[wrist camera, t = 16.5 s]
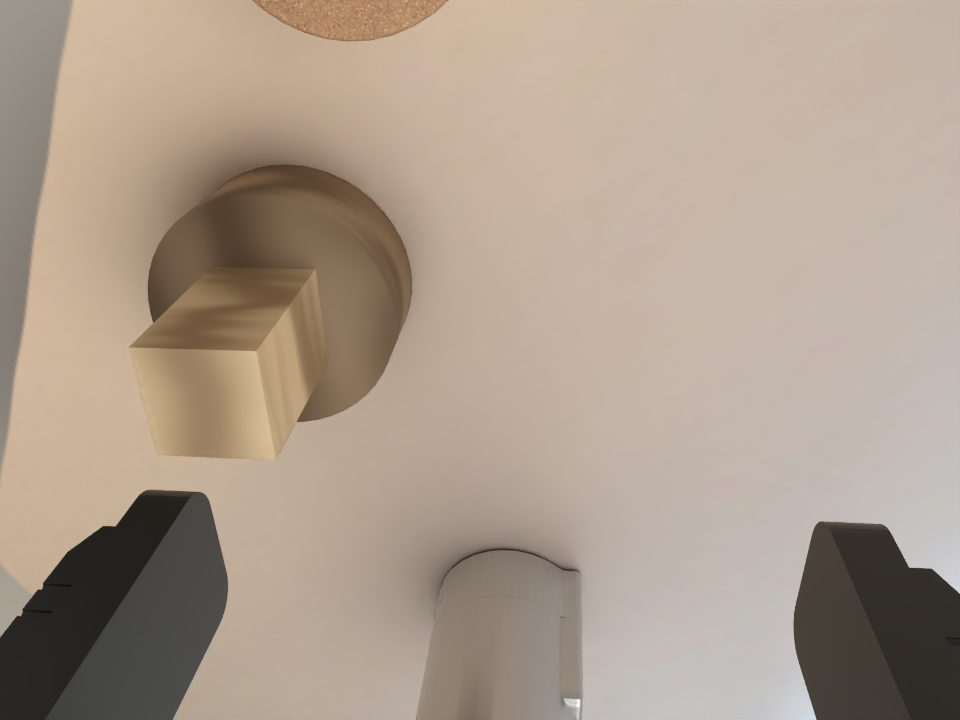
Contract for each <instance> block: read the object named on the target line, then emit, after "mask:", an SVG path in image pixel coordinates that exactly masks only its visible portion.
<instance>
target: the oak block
mask: <svg viewBox="0 0 960 720" xmlns="http://www.w3.org/2000/svg"><path fill="white" fill-rule="evenodd" d="M129 350H130V354H131V358H132V362H133V365H134V369H135V373H136V377H137V380H138V384H139V388H140V392H141V395H142V399H143V403H144V407H145V411H146V414H147V418H148V422H149V426H150V429H151V433H152V437H153V441H154V444H155V448H156V452H157V455H170V456H193V457H216V458H239V459H262V460H276V459H277V457H278V455H279V453H280V451H281V449H282V447H283V446H284V444H285V442H286V440H287V438H288V436H289V435H290V433H291V431H292V429H293V427H294V425H295V423H296V422H297V420H298V418H299V416H300V414H301V412H302V410H303V409H304V407H305V405H306V403H307V401H308V399H309V397H310V396H311V394H312V392H313V390H314V388H315V386H316V384H317V383H318V381H319V379H320V377H321V375H322V373H323V371H324V370H325V368H326V366H327V364H328V361H327V353H326V345H325V337H324V330H323V322H322V314H321V306H320V299H319V291H318V283H317V276H316V269H296V268H245V267H211V268H209V269H208V270H207V271H206V272H205V273H204V274H203V275H202V276H201V277H200V278H199V279H198V280H197V281H196V282H195V283H194V284H193V285H192V286H191V287H190V288H189V289H188V290H187V291H186V292H185V293H184V294H183V295H182V296H181V297H180V298H179V299H178V300H177V301H176V302H175V303H174V304H173V305H172V306H171V307H170V308H169V309H168V310H167V311H165V312H164V313H163V314H162V315H161V316H160V317H159V318H158V319H157V320H156V321H155V322H154V323H153V324H152V325H151V326H150V327H149V328H148V329H147V330H146V331H145V332H144V333H143V334H142V335H141V336H140V337H139V338H138V339H137V340H136V341H135V342H134V343H133V344H132V345H131V346H130V347H129Z"/></svg>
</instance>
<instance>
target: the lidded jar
mask: <svg viewBox="0 0 960 720" xmlns="http://www.w3.org/2000/svg"><path fill="white" fill-rule="evenodd" d="M253 1H254V2H255V3H256V4H257V5H258V6H260V7H261V8H262V9H263V10H265V11H266V12H268V13H269V14H271V15H272V16H274V17H275V18H277V19H278V20H280V21H281V22H283V23H285V24H287V25H289V26H291V27H294V28H296V29H298V30H300V31H302V32H304V33H308V34H311V35H315V36H318V37H322V38H325V39H332V40H341V41H365V40H374V39H378V38H383V37H387V36H391V35H394V34H397V33H399V32H401V31H404V30H406V29H408V28H411V27H413V26H415V25H417V24H418V23H420V22H421V21H423V20H424V19H426V18H427V17H429V16H430V15H432V14H433V13H435V12H436V11H437V10H438V9H439V8H440V7H441V6H442V5H444V4H445V3H446V2H447V1H448V0H253Z"/></svg>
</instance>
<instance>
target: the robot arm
mask: <svg viewBox="0 0 960 720" xmlns="http://www.w3.org/2000/svg"><path fill="white" fill-rule="evenodd" d="M227 594H228V579H227V572H226V568H225V564H224V560H223V556H222V551H221V547H220V543H219V539H218V535H217V531H216V526H215V522H214V518H213V514H212V510H211V506H210V502H209V500H208V498H207V497H206V495H205V494H203V493H201V492H186V491H163V490H146V491H144V492H143V493H141V494H140V495H139V496H138V497H137V499H136V500H135V501H134V503H133V504H132V505H131V507H130V508H129V509H128V511H127V512H126V513H125V515H124V516H123V517H122V519H121V520H120V522H119V523H118V524H117V526H116V527H112V526H103V527H101V528H100V529H99V530H97V531H96V532H95V533H93V534H92V535H90V536H89V537H88V538H86V539H85V540H84V541H82V542H81V543H79V544H78V545H77V546H75V547H74V548H73V549H71V550H70V551H68V552H67V554H66V555H65V556H64V557H63V559H62V560H61V561H60V562H59V564H58V565H57V566H56V567H55V569H54V570H53V571H52V573H51V574H50V575H49V576H48V578H47V579H46V580H45V581H44V583H43V588H42V590H37V592H36V593H35V594H34V595H33V597H32V598H31V599H30V600H29V602H28V603H27V604H26V606H25V607H24V608H23V613H22V615H21V616H17V617H16V618H15V619H14V621H13V622H12V623H11V625H10V626H9V627H8V628H7V630H6V631H5V632H4V633H3V635H2V636H1V637H0V720H173V718H174V716H175V714H176V712H177V710H178V708H179V706H180V703H181V701H182V699H183V697H184V695H185V693H186V691H187V689H188V687H189V685H190V683H191V681H192V679H193V677H194V675H195V673H196V671H197V669H198V667H199V665H200V663H201V661H202V659H203V657H204V655H205V653H206V651H207V649H208V647H209V645H210V643H211V641H212V639H213V637H214V635H215V633H216V630H217V628H218V626H219V624H220V622H221V620H222V617H223V614H224V611H225V607H226V602H227ZM794 640H795V647H796V653H797V657H798V661H799V664H800V668H801V671H802V674H803V677H804V680H805V684H806V687H807V690H808V693H809V697H810V700H811V703H812V706H813V709H814V713H815V716H816V719H817V720H960V594H959V593H958V592H957V591H956V590H955V589H954V588H953V587H951V586H950V585H949V584H948V583H947V582H946V581H945V580H944V579H942V578H941V577H940V576H939V575H938V574H937V573H936V572H935V571H934V570H932V569H925V568H909V567H908V565H907V563H906V561H905V559H904V557H903V555H902V553H901V551H900V549H899V548H898V546H897V544H896V542H895V540H894V538H893V536H892V534H891V533H890V531H889V530H888V529H887V527H885V526H884V525H882V524H866V523H844V522H819V523H817V525H816V526H815V528H814V530H813V534H812V537H811V542H810V546H809V550H808V554H807V559H806V563H805V567H804V572H803V576H802V580H801V584H800V589H799V593H798V597H797V601H796V606H795V612H794ZM582 708H583V673H582V621H581V575H580V573H579V572H576V571H566V570H562V569H560V568H558V567H556V566H555V565H553V564H552V563H550V562H548V561H547V560H545V559H542V558H540V557H537V556H535V555H532V554H528V553H524V552H519V551H509V550H497V551H488V552H483V553H480V554H476V555H473V556H471V557H469V558H467V559H465V560H463V561H461V562H460V563H458V564H457V565H456V566H455V567H454V568H452V569H451V570H450V572H449V573H448V574H447V576H446V577H445V578H444V581H443V583H442V586H441V589H440V594H439V599H438V603H437V606H436V611H435V617H434V625H433V631H432V636H431V641H430V646H429V652H428V657H427V662H426V668H425V673H424V678H423V683H422V689H421V694H420V699H419V705H418V710H417V715H416V720H582Z"/></svg>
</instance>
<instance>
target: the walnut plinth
mask: <svg viewBox="0 0 960 720" xmlns="http://www.w3.org/2000/svg"><path fill="white" fill-rule="evenodd" d="M211 267H245V268H296V269H316V276H317V283H318V291H319V299H320V306H321V314H322V322H323V330H324V337H325V345H326V353H327V361H328V364H327V366H326V368H325V370H324V371H323V373H322V375H321V377H320V379H319V381H318V383H317V384H316V386H315V388H314V390H313V392H312V394H311V396H310V397H309V399H308V401H307V403H306V405H305V407H304V409H303V410H302V412H301V414H300V416H299V418H298V420H297V422H305V421H312V420H318V419H322V418H325V417H329V416H332V415H334V414H337V413H339V412H342V411H344V410H346V409H347V408H349V407H351V406H352V405H354V404H356V403H357V402H358V401H359V400H361V399H362V398H363V397H364V396H366V395H367V393H368V392H369V391H370V390H371V389H372V388H373V387H374V386H375V385H376V383H377V382H378V380H379V379H380V377H381V376H382V374H383V372H384V370H385V368H386V366H387V363H388V361H389V359H390V356H391V354H392V351H393V349H394V346H395V344H396V341H397V339H398V336H399V334H400V331H401V329H402V327H403V324H404V322H405V319H406V316H407V313H408V310H409V306H410V301H411V294H412V277H411V269H410V263H409V260H408V256H407V253H406V250H405V247H404V245H403V243H402V240H401V238H400V236H399V234H398V233H397V231H396V229H395V227H394V226H393V224H392V223H391V221H390V220H389V219H388V217H387V216H386V215H385V213H384V212H383V211H382V210H381V209H380V208H379V207H378V206H377V205H376V204H375V203H374V202H373V201H372V200H371V199H370V198H369V197H368V196H366V195H365V194H364V193H363V192H361V191H360V190H359V189H357V188H356V187H354V186H352V185H351V184H349V183H348V182H346V181H344V180H342V179H340V178H338V177H336V176H334V175H332V174H329V173H326V172H323V171H320V170H317V169H312V168H307V167H302V166H292V165H278V166H268V167H263V168H258V169H254V170H251V171H249V172H246V173H243V174H241V175H239V176H237V177H235V178H234V179H232V180H230V181H229V182H227V183H226V184H225V185H223V186H222V187H221V188H219V189H218V190H217V191H216V192H214V193H213V194H212V195H210V196H209V197H208V198H207V199H205V200H204V201H203V202H201V203H200V204H199V205H198V206H196V207H195V208H194V209H192V210H191V211H190V212H189V213H187V214H186V215H185V216H183V217H182V218H181V219H180V220H178V221H177V222H176V223H175V224H174V225H173V226H172V227H171V228H170V230H169V231H168V232H167V233H166V234H165V236H164V237H163V239H162V240H161V242H160V243H159V245H158V248H157V250H156V252H155V254H154V256H153V260H152V263H151V267H150V271H149V279H148V301H149V306H150V312H151V316H152V319H153V323H154V322H155V321H156V320H157V319H158V318H159V317H160V316H161V315H162V314H163V313H164V312H165V311H167V310H168V309H169V308H170V307H171V306H172V305H173V304H174V303H175V302H176V301H177V300H178V299H179V298H180V297H181V296H182V295H183V294H184V293H185V292H186V291H187V290H188V289H189V288H190V287H191V286H192V285H193V284H194V283H195V282H196V281H197V280H198V279H199V278H200V277H201V276H202V275H203V274H204V273H205V272H206V271H207V270H208V269H209V268H211Z"/></svg>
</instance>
